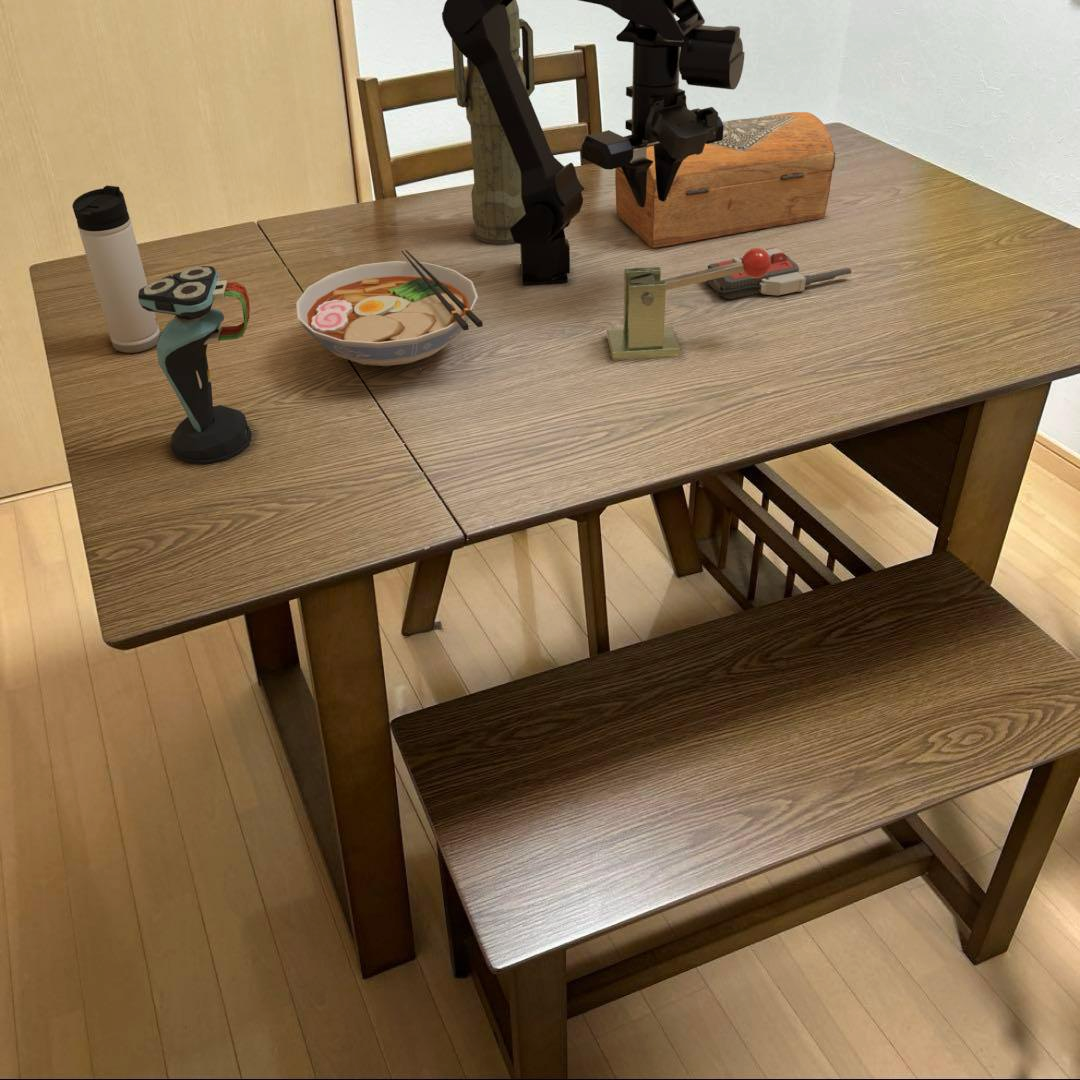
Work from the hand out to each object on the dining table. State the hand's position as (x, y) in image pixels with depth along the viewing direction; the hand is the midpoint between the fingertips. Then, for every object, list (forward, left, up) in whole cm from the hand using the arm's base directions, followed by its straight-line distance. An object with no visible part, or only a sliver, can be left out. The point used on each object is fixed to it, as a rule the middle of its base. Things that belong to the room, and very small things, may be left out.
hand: (651, 203), depth 148 cm
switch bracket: (-3, -15, -13) cm, 20 cm away
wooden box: (+15, +26, -13) cm, 33 cm away
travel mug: (-69, -5, -13) cm, 70 cm away
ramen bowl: (-35, -12, -13) cm, 39 cm away
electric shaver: (-54, -31, -13) cm, 64 cm away
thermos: (-19, +24, -13) cm, 33 cm away
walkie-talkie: (+18, +1, -13) cm, 22 cm away
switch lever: (+4, -15, -5) cm, 16 cm away
